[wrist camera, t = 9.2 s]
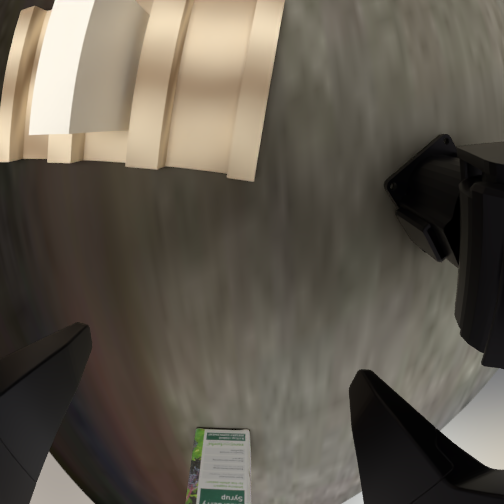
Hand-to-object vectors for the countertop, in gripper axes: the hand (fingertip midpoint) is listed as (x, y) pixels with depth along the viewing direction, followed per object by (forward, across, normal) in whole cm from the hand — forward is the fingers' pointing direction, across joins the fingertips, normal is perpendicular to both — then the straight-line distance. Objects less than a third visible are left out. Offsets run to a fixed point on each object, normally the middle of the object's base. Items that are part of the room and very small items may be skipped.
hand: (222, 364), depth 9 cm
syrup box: (+12, -2, +24) cm, 27 cm away
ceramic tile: (+11, +9, -10) cm, 18 cm away
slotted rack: (+12, +10, -10) cm, 18 cm away
